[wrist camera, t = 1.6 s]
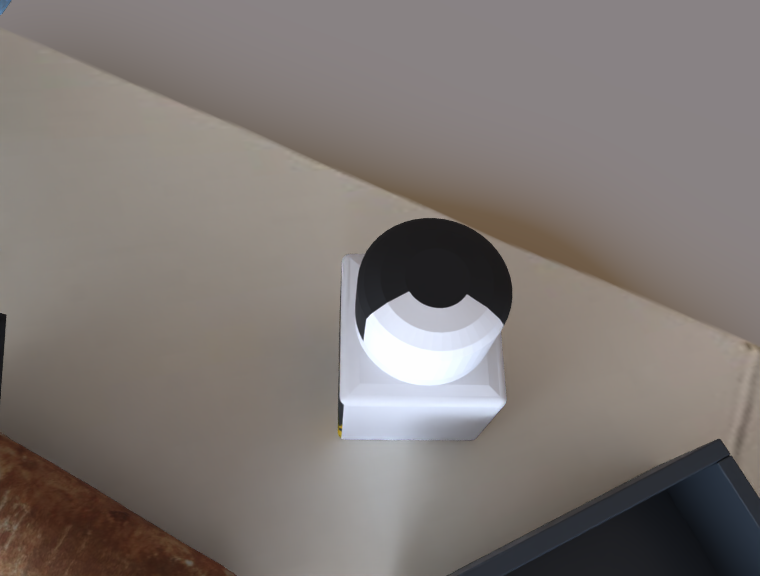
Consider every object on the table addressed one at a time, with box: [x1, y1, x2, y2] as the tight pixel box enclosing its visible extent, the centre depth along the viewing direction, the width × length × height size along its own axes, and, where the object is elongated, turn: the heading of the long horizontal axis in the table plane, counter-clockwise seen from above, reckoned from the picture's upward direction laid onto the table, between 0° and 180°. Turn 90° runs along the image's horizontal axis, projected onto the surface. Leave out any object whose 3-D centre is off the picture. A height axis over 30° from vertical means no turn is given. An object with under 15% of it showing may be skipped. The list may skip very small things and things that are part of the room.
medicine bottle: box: [338, 218, 512, 440], centre depth 32 cm, size 7×7×12 cm
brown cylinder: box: [0, 432, 236, 576], centre depth 31 cm, size 6×19×6 cm, turn 64°
